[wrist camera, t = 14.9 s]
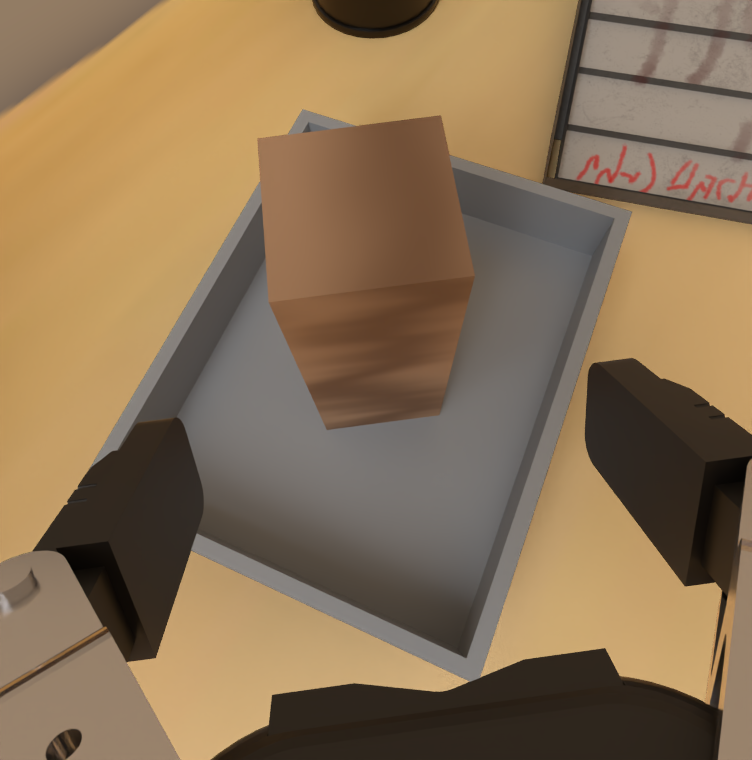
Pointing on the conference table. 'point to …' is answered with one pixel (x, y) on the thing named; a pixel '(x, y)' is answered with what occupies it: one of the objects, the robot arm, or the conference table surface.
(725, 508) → the robot arm
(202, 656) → the conference table surface
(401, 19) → the french press
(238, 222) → the shallow gray tray
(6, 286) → the conference table surface
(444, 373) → the walnut block
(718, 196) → the shutter
